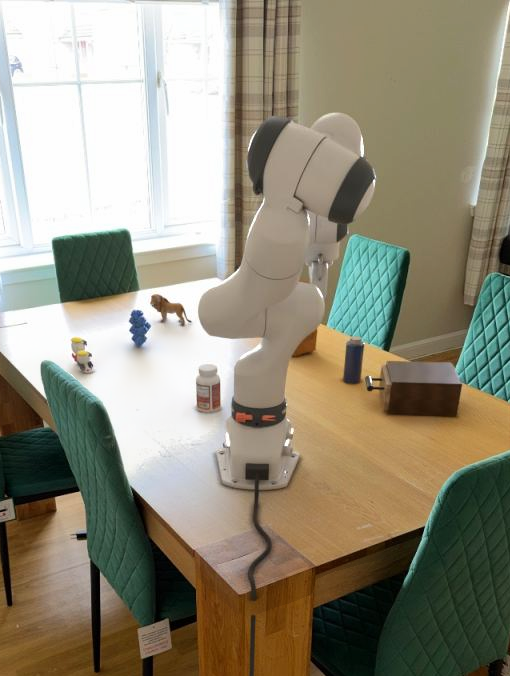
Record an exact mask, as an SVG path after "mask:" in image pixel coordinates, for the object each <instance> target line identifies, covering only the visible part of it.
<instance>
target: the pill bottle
mask: <svg viewBox="0 0 510 676" xmlns="http://www.w3.org/2000/svg"><path fill="white" fill-rule="evenodd" d="M195 393H196V394H195V395H196V408H197V410H199V411H200V412H203V413H213V412H217V411H218V410H220V409H221V407H222V405H221V402H222V400H221V377H220V375H218V366H217V365H215V364H211V363H206V364H201V365H199V366H198V375H197V376H196V377H195Z"/></svg>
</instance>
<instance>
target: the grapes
mask: <svg viewBox="0 0 510 676" xmlns="http://www.w3.org/2000/svg"><path fill="white" fill-rule="evenodd" d="M147 320H148V319H147V318H146V317H145V316H144V312H143V311H142V310H141V309H138V308H137V309H133V310H132V311H131V312H130V317H129V320H128V322H129V324H130V325H131V326H130V328H129V330H128V331H129V332H130V334H131V335H132V336H131V338H130V340H131V341H132V342H133V343H134V344H135V345H136V346H137V347H139V348H141V347H142V346H143V345H144V344H145V343H146V342H147V340H148V337H147V336H146V334H147V333H148V331H150V329H151V327H152V325H151V324H150V322H148V321H147Z"/></svg>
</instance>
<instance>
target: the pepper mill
mask: <svg viewBox="0 0 510 676" xmlns="http://www.w3.org/2000/svg"><path fill="white" fill-rule="evenodd" d="M345 344H346V345H345V352H344V353H345V355H344V366H343V377H342V381H343V382H344V383H346V384H351V385H355V384H359V383H361V381H362V372H363V371H362V369H363V362H364V361H363V360H364V352H365V342H364V341H362V337H360V336H358V335H357V336H354V335H353V336H351V337H350V338H349V340H348V341H346V343H345Z"/></svg>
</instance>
